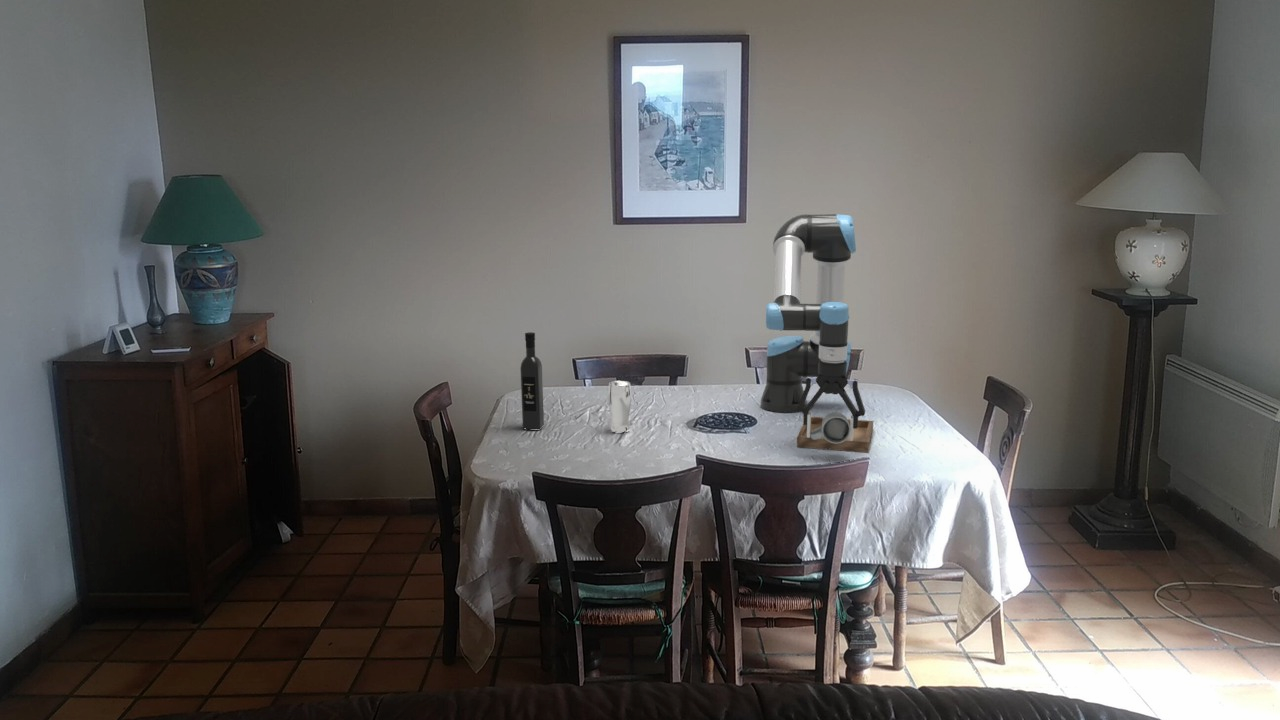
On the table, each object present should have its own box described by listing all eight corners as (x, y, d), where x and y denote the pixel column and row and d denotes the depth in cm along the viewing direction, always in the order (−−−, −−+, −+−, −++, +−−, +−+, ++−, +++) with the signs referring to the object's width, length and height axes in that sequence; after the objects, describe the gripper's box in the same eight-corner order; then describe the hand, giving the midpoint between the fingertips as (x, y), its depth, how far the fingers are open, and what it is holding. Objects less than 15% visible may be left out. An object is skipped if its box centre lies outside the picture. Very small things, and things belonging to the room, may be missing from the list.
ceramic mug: (847, 434, 261) (848, 408, 260) (850, 444, 253) (850, 417, 252) (809, 434, 263) (809, 408, 261) (810, 443, 255) (810, 416, 253)
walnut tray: (796, 446, 269) (797, 436, 268) (806, 425, 289) (806, 416, 289) (868, 452, 263) (868, 442, 262) (872, 430, 284) (873, 420, 283)
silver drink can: (635, 429, 288) (634, 381, 285) (625, 435, 282) (624, 387, 278) (615, 426, 291) (614, 379, 287) (605, 432, 285) (604, 384, 281)
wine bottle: (539, 431, 287) (536, 335, 280) (521, 430, 288) (517, 334, 281) (545, 425, 292) (541, 331, 286) (527, 425, 293) (523, 331, 287)
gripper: (787, 360, 252) (785, 438, 258) (876, 365, 246) (872, 445, 251) (791, 354, 259) (789, 430, 264) (877, 359, 253) (874, 436, 258)
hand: (829, 437), depth 258 cm, fingers closed on ceramic mug, 11 cm apart
